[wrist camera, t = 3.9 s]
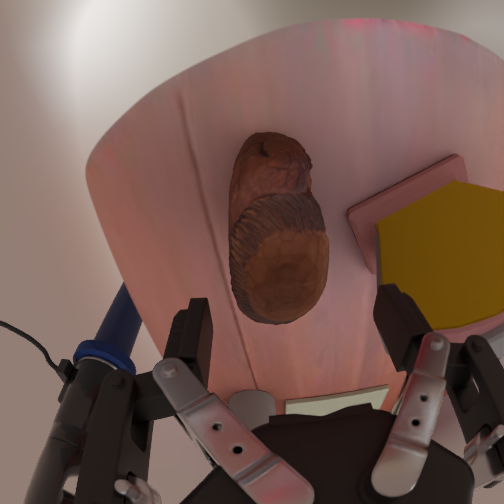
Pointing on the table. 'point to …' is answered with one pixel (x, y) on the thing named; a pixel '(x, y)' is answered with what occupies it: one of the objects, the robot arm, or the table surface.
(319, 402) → the mat
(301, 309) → the wooden figurine
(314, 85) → the table surface
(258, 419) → the cup
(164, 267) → the table surface
